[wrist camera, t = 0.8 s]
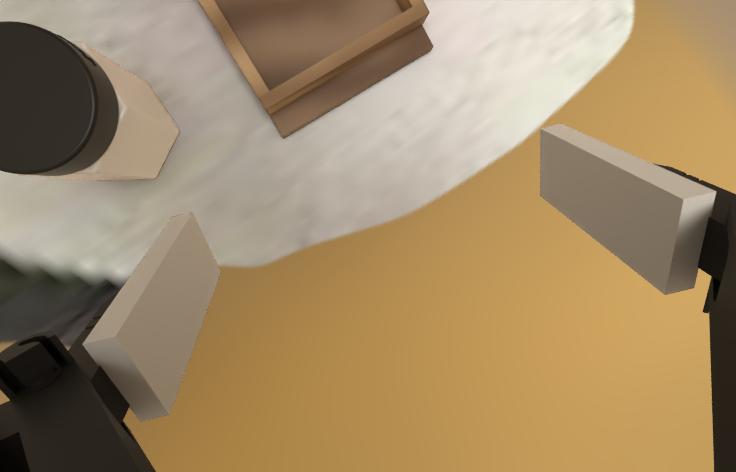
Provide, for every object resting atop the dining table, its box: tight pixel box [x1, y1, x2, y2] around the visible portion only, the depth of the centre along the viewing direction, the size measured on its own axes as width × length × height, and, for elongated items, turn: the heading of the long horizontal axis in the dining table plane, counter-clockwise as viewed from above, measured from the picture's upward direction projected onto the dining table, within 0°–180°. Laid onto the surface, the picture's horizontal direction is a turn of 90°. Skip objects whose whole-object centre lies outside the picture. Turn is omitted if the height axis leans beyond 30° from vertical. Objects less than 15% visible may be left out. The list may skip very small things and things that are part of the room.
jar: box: [0, 21, 179, 180], centre depth 28 cm, size 9×8×12 cm
